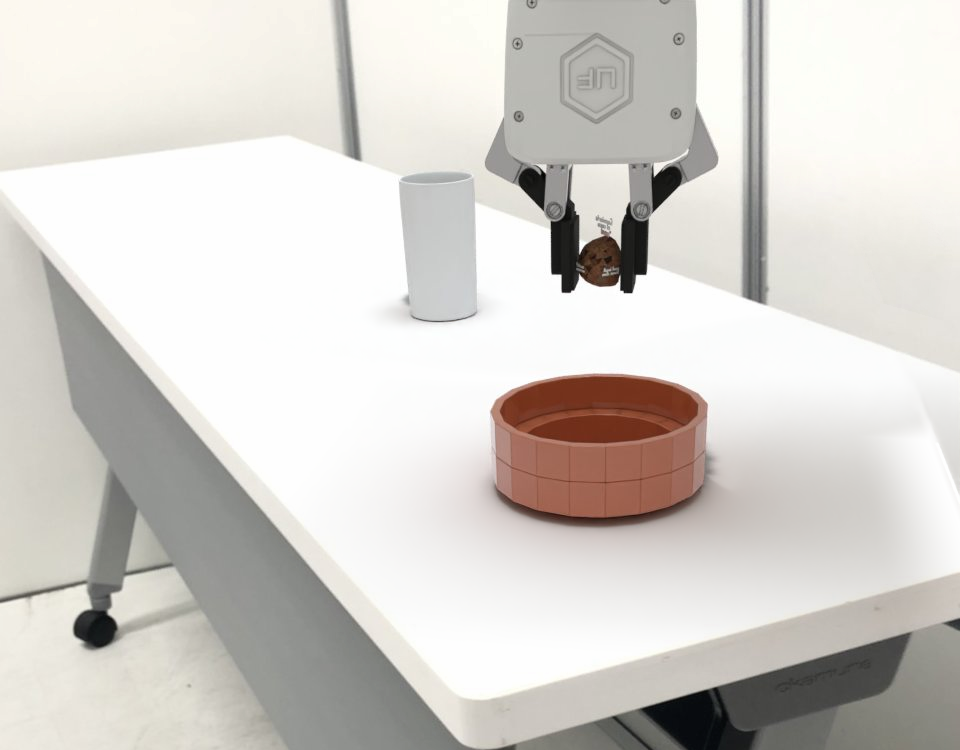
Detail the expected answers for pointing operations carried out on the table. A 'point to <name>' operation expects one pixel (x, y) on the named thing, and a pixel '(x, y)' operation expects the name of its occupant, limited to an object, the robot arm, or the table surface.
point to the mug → (440, 243)
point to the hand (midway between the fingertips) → (599, 284)
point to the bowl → (599, 444)
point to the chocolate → (600, 259)
